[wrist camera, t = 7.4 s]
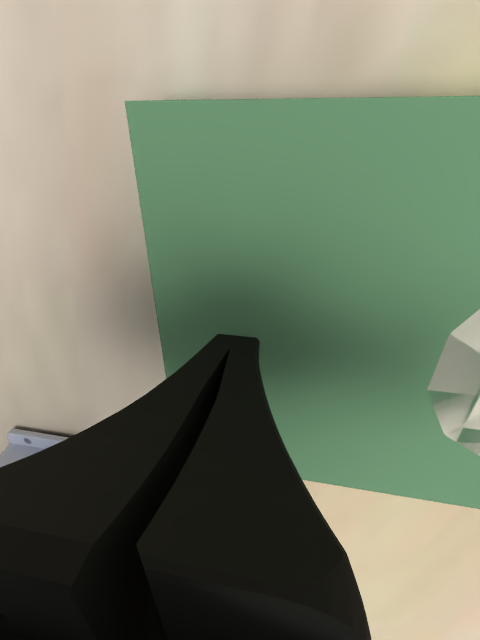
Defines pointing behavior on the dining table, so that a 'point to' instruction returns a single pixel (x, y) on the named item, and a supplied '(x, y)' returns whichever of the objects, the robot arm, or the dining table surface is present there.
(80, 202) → the dining table surface
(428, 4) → the dining table surface
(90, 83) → the dining table surface
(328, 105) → the putting mat
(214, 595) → the robot arm
